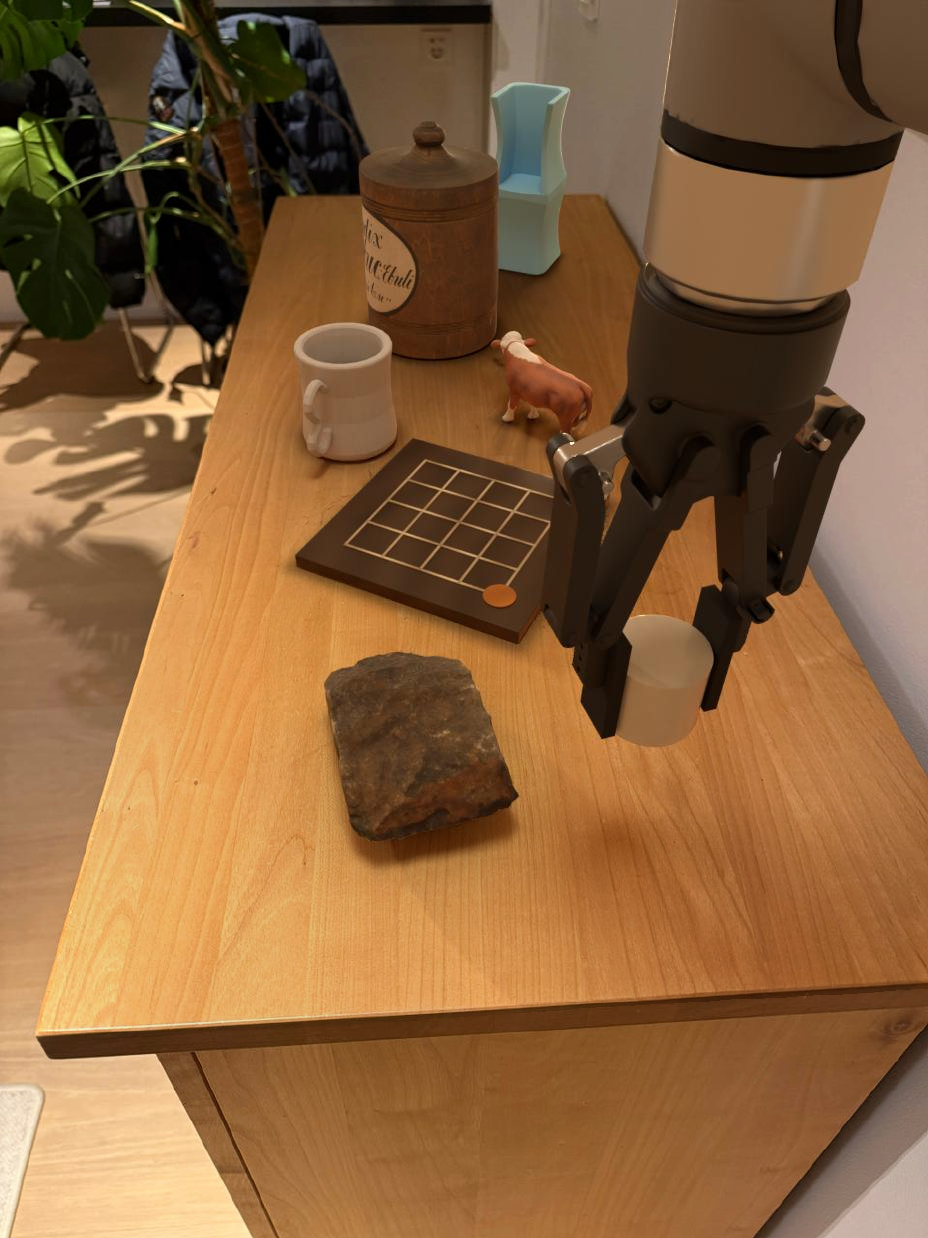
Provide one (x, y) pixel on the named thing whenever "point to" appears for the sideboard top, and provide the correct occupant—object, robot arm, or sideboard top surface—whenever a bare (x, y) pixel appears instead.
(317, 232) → the sideboard top surface
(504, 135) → the blue toy chair
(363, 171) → the wooden container
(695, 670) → the white short cylinder
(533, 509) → the grid board
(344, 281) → the sideboard top surface
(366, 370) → the mug
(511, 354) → the bull figurine
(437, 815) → the stone
